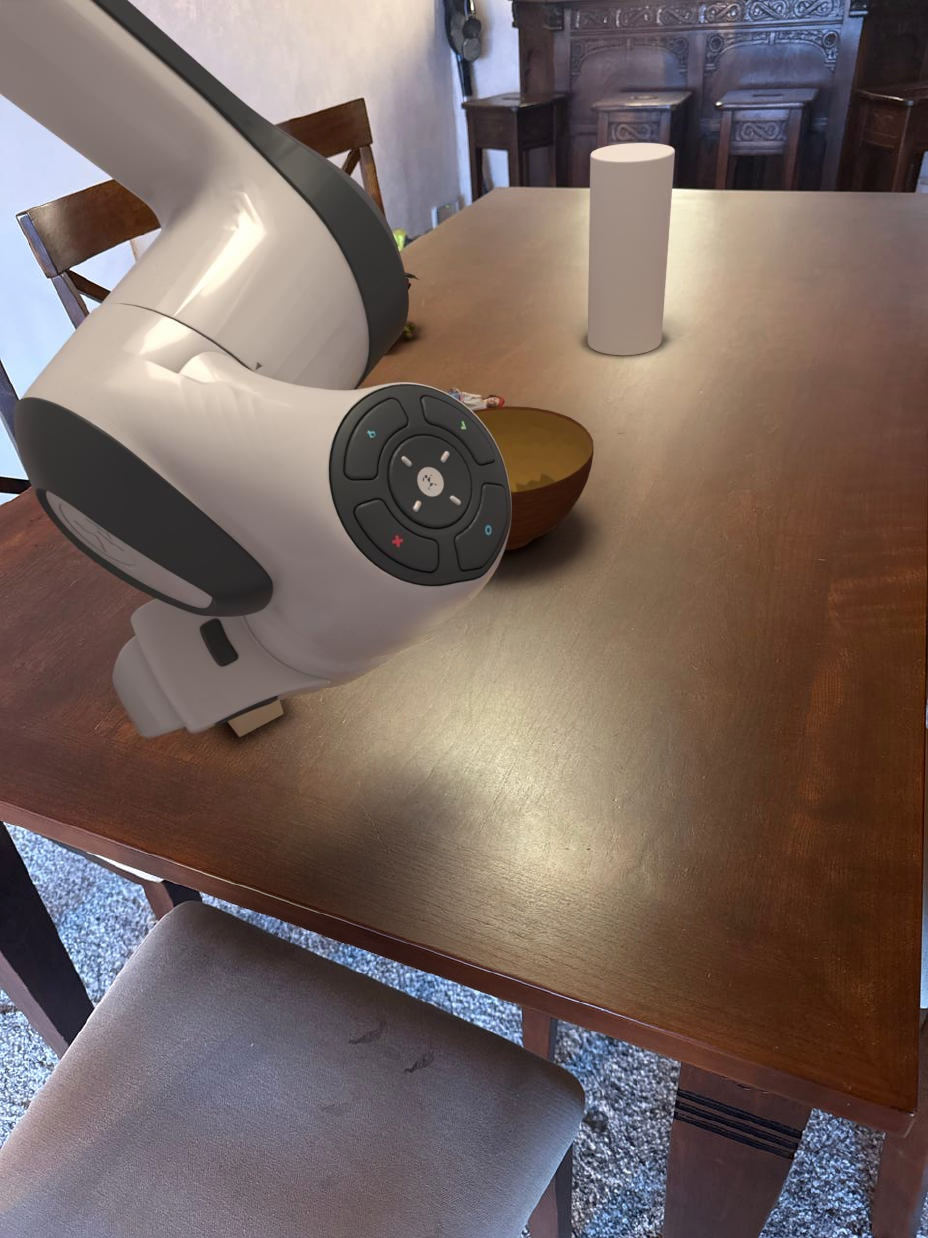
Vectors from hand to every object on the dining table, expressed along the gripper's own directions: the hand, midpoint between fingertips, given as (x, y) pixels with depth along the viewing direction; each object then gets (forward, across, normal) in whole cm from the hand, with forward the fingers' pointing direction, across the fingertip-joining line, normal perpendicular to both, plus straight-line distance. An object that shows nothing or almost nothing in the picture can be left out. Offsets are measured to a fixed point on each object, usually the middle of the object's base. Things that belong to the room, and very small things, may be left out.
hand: (275, 648), depth 55 cm
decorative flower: (+62, -52, -41) cm, 91 cm away
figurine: (+40, -42, -19) cm, 60 cm away
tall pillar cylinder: (+42, -77, -22) cm, 90 cm away
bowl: (+22, -32, -2) cm, 39 cm away
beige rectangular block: (+18, 0, +2) cm, 18 cm away
